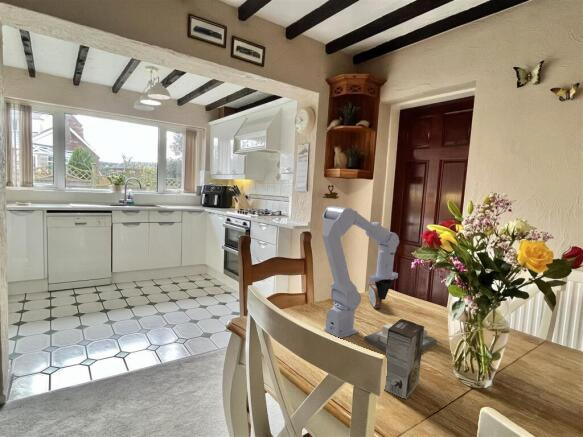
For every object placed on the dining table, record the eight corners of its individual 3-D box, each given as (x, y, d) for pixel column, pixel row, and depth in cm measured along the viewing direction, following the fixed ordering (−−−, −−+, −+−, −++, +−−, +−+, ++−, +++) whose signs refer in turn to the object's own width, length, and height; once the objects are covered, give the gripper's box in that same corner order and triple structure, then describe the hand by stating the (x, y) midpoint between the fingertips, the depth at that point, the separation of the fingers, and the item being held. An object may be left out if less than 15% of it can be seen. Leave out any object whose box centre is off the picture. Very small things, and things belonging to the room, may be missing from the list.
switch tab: (391, 346, 103) (393, 331, 102) (379, 340, 107) (381, 325, 106) (401, 343, 106) (402, 328, 106) (389, 337, 110) (390, 322, 109)
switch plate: (400, 360, 98) (402, 348, 98) (364, 340, 109) (365, 330, 109) (436, 344, 111) (437, 334, 110) (400, 328, 122) (401, 318, 121)
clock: (381, 311, 137) (383, 291, 136) (373, 311, 137) (375, 291, 137) (373, 299, 152) (375, 281, 151) (366, 298, 152) (368, 280, 151)
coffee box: (395, 374, 90) (401, 317, 89) (418, 384, 86) (425, 325, 85) (381, 389, 83) (387, 327, 82) (406, 401, 79) (413, 336, 78)
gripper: (381, 267, 115) (378, 305, 117) (406, 264, 124) (402, 299, 126) (366, 263, 121) (362, 299, 122) (390, 259, 130) (387, 293, 131)
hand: (381, 298), depth 124 cm, fingers closed
